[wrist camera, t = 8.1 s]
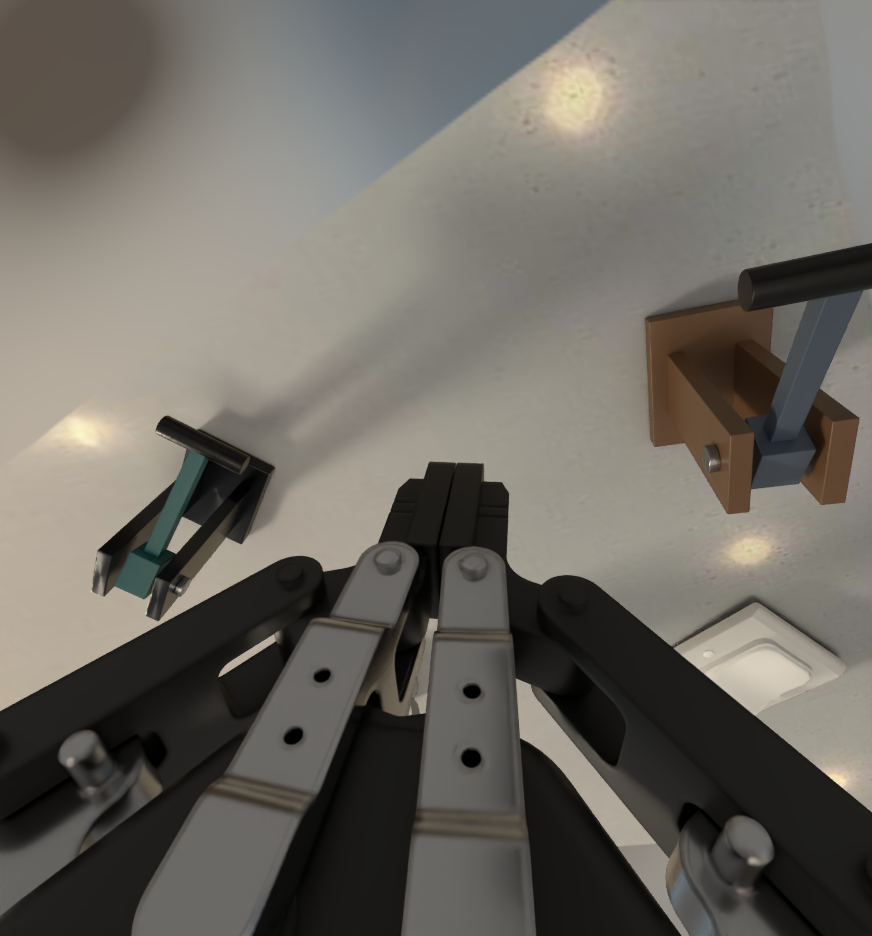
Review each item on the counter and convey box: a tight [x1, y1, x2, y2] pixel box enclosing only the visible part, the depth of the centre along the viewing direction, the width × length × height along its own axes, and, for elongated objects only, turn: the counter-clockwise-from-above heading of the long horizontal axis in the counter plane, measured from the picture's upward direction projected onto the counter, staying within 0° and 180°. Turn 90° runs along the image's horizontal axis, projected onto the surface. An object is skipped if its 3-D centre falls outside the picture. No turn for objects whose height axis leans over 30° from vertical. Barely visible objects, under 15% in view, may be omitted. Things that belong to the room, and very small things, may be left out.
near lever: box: [738, 243, 872, 489], centre depth 21 cm, size 12×6×2 cm, turn 13°
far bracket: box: [91, 429, 274, 621], centre depth 39 cm, size 9×7×13 cm
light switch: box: [674, 602, 846, 716], centre depth 45 cm, size 11×4×13 cm
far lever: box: [115, 416, 250, 599], centre depth 35 cm, size 12×6×2 cm, turn 153°
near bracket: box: [645, 300, 859, 514], centre depth 28 cm, size 9×7×13 cm
